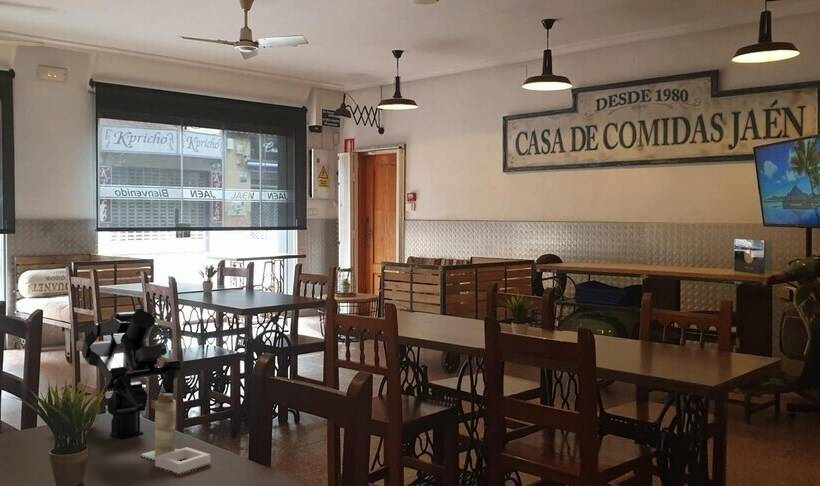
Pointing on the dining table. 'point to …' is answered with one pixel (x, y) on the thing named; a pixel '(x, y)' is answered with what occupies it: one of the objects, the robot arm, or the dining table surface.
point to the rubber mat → (150, 455)
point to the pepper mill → (165, 423)
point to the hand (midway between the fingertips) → (154, 401)
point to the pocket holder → (171, 458)
